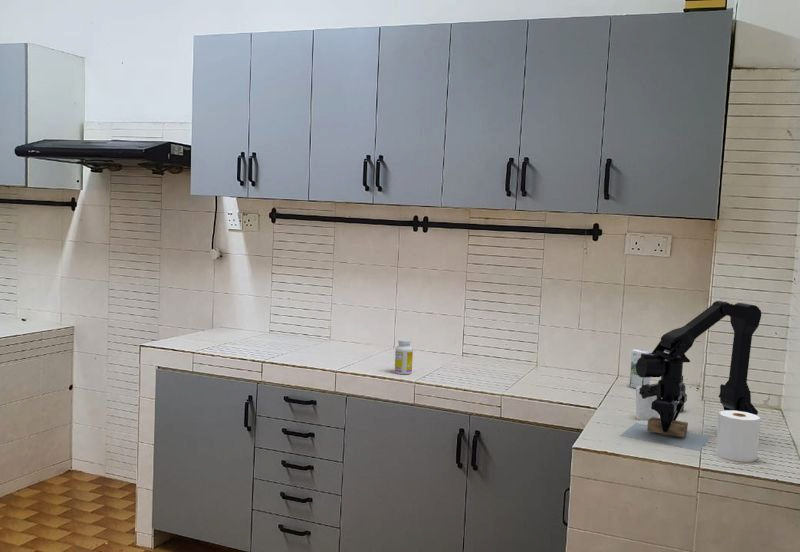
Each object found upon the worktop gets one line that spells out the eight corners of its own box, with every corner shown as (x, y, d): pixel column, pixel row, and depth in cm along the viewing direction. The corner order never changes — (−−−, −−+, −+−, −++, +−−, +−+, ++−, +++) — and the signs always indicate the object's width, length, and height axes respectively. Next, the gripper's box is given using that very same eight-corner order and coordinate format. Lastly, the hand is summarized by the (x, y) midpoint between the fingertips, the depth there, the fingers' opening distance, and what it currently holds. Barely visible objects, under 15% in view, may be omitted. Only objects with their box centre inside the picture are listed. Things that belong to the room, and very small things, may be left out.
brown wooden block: (687, 432, 231) (687, 422, 231) (682, 437, 226) (683, 426, 226) (652, 426, 236) (653, 416, 236) (647, 430, 231) (648, 420, 231)
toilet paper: (708, 452, 218) (712, 409, 217) (745, 453, 219) (748, 410, 218) (725, 464, 208) (729, 419, 207) (763, 465, 209) (767, 420, 208)
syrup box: (650, 388, 298) (653, 350, 297) (643, 390, 294) (645, 352, 292) (636, 385, 302) (638, 348, 301) (628, 387, 298) (631, 349, 296)
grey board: (711, 438, 232) (711, 429, 232) (699, 453, 217) (700, 443, 216) (635, 425, 243) (636, 416, 243) (619, 438, 228) (620, 428, 228)
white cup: (639, 414, 257) (642, 384, 256) (663, 419, 252) (666, 389, 251) (630, 419, 251) (632, 388, 250) (654, 424, 246) (656, 392, 245)
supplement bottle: (411, 371, 308) (413, 339, 307) (412, 375, 301) (413, 342, 300) (394, 371, 308) (395, 338, 307) (394, 374, 301) (396, 341, 300)
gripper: (651, 368, 242) (647, 418, 243) (635, 378, 226) (631, 431, 227) (689, 373, 236) (685, 424, 237) (675, 383, 220) (671, 438, 221)
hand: (667, 429), depth 231 cm, fingers closed on brown wooden block, 6 cm apart
